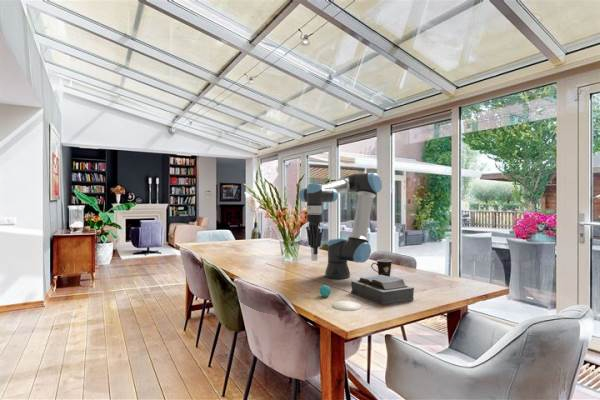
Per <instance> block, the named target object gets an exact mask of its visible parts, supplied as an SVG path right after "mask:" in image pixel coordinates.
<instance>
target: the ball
mask: <svg viewBox="0 0 600 400" xmlns="http://www.w3.org/2000/svg"><path fill="white" fill-rule="evenodd" d="M331 291H332V290H331V288H330V286H329V285H327V284H324V285H321V286H320V287H319V294H320V295H321V297H323V298H326V297H328V296H330V295H331Z"/></svg>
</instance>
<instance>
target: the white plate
mask: <svg viewBox="0 0 600 400" xmlns="http://www.w3.org/2000/svg"><path fill="white" fill-rule="evenodd" d="M331 307H332V308H333V309H335V310H339V311H346V312H347V311H348V312H350V311H351V312H352V311H358V310H360V309H362V304H360V303H358V302H355V301H349V300H342V301H341V300H339V301H336V302H333V303H331Z"/></svg>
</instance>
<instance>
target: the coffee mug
mask: <svg viewBox="0 0 600 400" xmlns="http://www.w3.org/2000/svg"><path fill="white" fill-rule="evenodd" d="M373 265H376V266H377V270H376V269H375V268H374V267H373ZM371 269H372V270H373V271H374V272H376V273H377V274H378V275H384V276H389V277H391V271H392V260H391V259H385V258H384V259H383V258H382V259H377V260H376V262H373V263H372V264H371Z"/></svg>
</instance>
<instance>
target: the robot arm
mask: <svg viewBox="0 0 600 400" xmlns="http://www.w3.org/2000/svg"><path fill="white" fill-rule="evenodd" d="M381 190H382V179H381V177H380V175H379V174H377V173H375V172H366V173H352V174H350V175H347V176H346V175H345V176H343V177H340V178H339V179H338V180H335V181H331V182H328V183H324V184H321V183H308V184H307V187H306V188H302V189H300V190H299V192H298V198H299V200H300V201H301V202H303V203H306V204H307V205H306V209H307V210H306V214H307V215H306V221H307V223H308V226H306V227H305V229H306V234H307V242H308V246H309V247H310V249H311V250H310V251H311V252H310V254H311V258H310V259H311V261H312V262H313V261H318V248H320V247H321V243H322V237H323V232H324V228H322V227H321V222H322V221H323V215H322V214H323V203H334V202H336V201H337V200H338V197H339V194H341V193H342V194H346V193H356V195H357V197H358V199H357V203H356V209H355V214H354V221H353V226H352V231H351V235H349V236H348V238H347V237H342V238H341V237H340V238H332V239H329V240H328V242H327V264H326V265H327V266H326V268H325V273H324V277H326V278H328V279H335V280H342V279H344V280H345V279H349V278H350V277H351V272H350V269H349V265H348V262H354V263H357V264H358V263H360V264H361V263H365V262H367V261H368V260H369V258H370V257H371V254H372V248H371V245H370V243H369V239H368V238H367V235H368V231H369V230H368V229H369V223H370V217H371V212H372V205H373V200H374V198H376V196H377V194H378V193H379V192H381Z"/></svg>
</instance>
